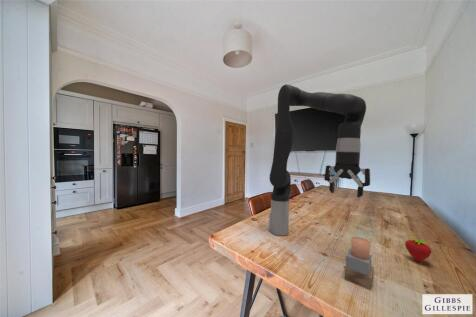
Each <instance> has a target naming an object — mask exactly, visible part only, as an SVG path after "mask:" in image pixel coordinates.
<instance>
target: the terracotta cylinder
mask: <svg viewBox="0 0 476 317" xmlns="http://www.w3.org/2000/svg"><path fill="white" fill-rule="evenodd" d="M350 241H351V242H350V243H351V244H350V245H351V248H350V249H351V254H352V255H353V256H354V257H356V258H358V259H362V260H368V259H369V258H370V255H371V254H370V253H371V252H370V251H371V249H370V248H371V241H370V240H368V239H366V238H363V237H361V236H353V237H351V240H350Z"/></svg>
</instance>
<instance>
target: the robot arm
mask: <svg viewBox="0 0 476 317" xmlns="http://www.w3.org/2000/svg"><path fill="white" fill-rule="evenodd" d="M278 91H279V92H278V94H277V118H276V119H277V120H276V129H275V136H274V148H273V154H272V155H273V156H272V158H273V159H272V164H271V168H270V173H269V183H270V184H271V186H273V187H272V188H273V189H272V192H271V194H270V212H269V214H268V215H269V216H268V232H270V233H271V234H273V235H276V236H281V237H283V236H287V235H289V233H290V232H289V231H290V229H289V225H290V224H289V222H290V218H289V216H290V196H291V188H292V187H291V185H292V184H291V181H292V180H291V173H290V171H288V170H287V168H288V161H289V157H290V154H291V152H292V149H293V145H294V138H295V128H294V124H293V122H292V118H291V113H290V110H291V109H290V108H291V107H307V108H308V107H309V108H311V109H314V110H319V111H324V112H331V113H336V114H339V115H343V116H345V117H344V121H343V122H341V123H340V124H339V126H338V128H337V142H336V145H335V146H336V147H335V164H334V166H332V165H326V166H325V171H324V178H323V179H324V181H326V182H329V186H328V187H329V188H328V190H329V192H330V193H331V194H334V193H335V187H336V184H335V182H336V181H337V180H338V179H339V178H340V179H347V180H353V181H354V182H355V183H356V184H357V191H356V192H357V193H356V196H357V198H361V197H362V196H363V195H364V187H369V186H370V185H371V169H370V168H361V167H360V161H361V160H360V159H361V144H362V143H361V134H362V133H361V132H362V129H361V128H362V124H363V122H364V118H365V115H366V112H367V103H366V101H365V99H363V97H359V96H357V95H354V94H350V93H333V92H325V91H324V92H323V91H321V92H320V91H317V92H307V91H306V90H302V89H301V88H299V87H296V86H294V85H291V84H286V83H285V84H283V85H282V86H281V87H280V89H279V90H278ZM333 171H334V172H335V174H334V175H333V176H332V177H331V172H333ZM359 173H361V174H362V175H364V182H363V181H362V180H361V178H360V177H359ZM330 177H331V178H330Z"/></svg>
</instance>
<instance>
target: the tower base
mask: <svg viewBox="0 0 476 317" xmlns="http://www.w3.org/2000/svg"><path fill="white" fill-rule="evenodd" d="M374 270H375V269H374V266H371V269H370V273H369V276H366V275H364V274H361V273H358V272H356V271H353V270H351V269H348V268H346V265H345V267H344V281H347V282H350V283H352V284H355V285H357V286H360V287H361V288H364V289H367V290H369V291H372V287H373V283H374V277H375V276H374V274H375V273H374V272H375V271H374Z"/></svg>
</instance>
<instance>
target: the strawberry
mask: <svg viewBox="0 0 476 317" xmlns="http://www.w3.org/2000/svg"><path fill="white" fill-rule="evenodd" d="M404 244H405V248H406V250H407V252H408V253H409V254H410V256H411V257H412V258H413V260H414V261H416V262H417V263H420V262H422V261H425V260H426V259H427V258H430V256H431V254H432V248H430V246H428V245H429V244H428V243H427V240H422V239H421V238H419V239H417V238H411V237H409V239H408V240H406V241H405V243H404Z"/></svg>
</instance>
